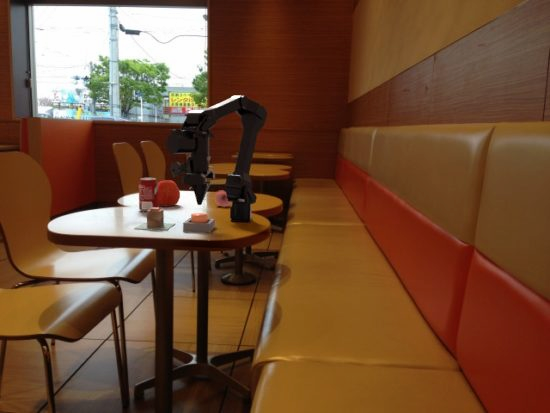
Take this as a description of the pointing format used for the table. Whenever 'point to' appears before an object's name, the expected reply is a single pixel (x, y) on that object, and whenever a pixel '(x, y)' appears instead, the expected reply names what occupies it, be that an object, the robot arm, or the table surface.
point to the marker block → (155, 217)
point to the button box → (198, 226)
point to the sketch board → (164, 227)
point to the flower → (222, 199)
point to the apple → (168, 193)
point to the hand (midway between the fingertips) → (199, 204)
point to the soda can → (148, 193)
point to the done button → (199, 218)
